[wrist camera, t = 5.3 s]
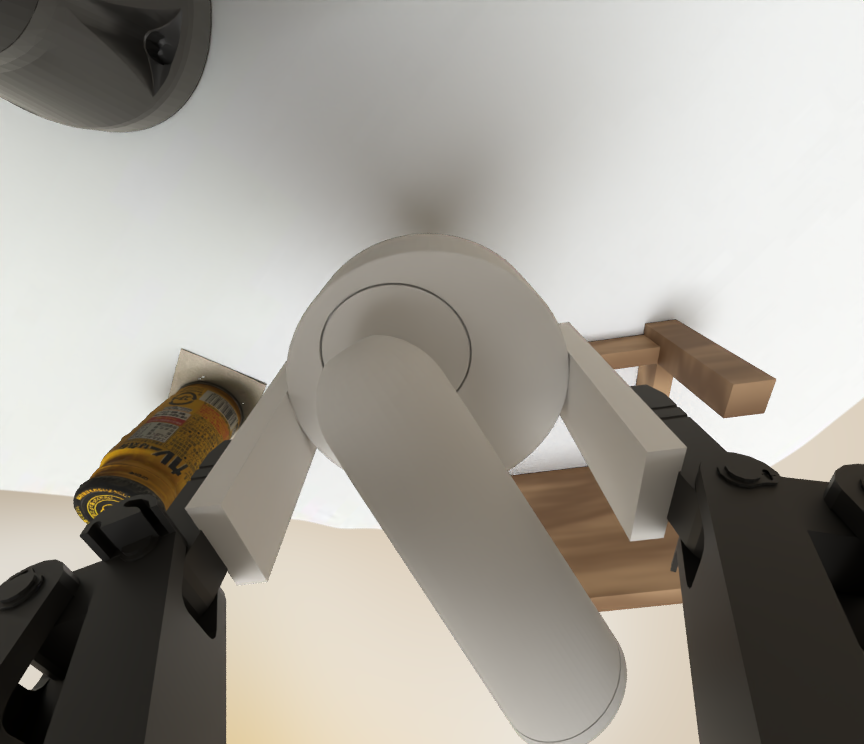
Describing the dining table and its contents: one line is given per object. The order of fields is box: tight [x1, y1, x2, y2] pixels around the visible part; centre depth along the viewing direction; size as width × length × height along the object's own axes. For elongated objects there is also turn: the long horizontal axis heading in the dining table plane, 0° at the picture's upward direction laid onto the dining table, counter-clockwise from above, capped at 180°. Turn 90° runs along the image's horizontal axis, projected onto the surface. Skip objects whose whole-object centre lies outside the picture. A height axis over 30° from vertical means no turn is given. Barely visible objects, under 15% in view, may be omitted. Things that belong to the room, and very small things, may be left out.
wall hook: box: [286, 233, 627, 744], centre depth 10 cm, size 9×10×10 cm
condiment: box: [73, 349, 266, 524], centre depth 29 cm, size 7×8×12 cm
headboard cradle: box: [511, 320, 776, 612], centre depth 30 cm, size 18×20×13 cm
